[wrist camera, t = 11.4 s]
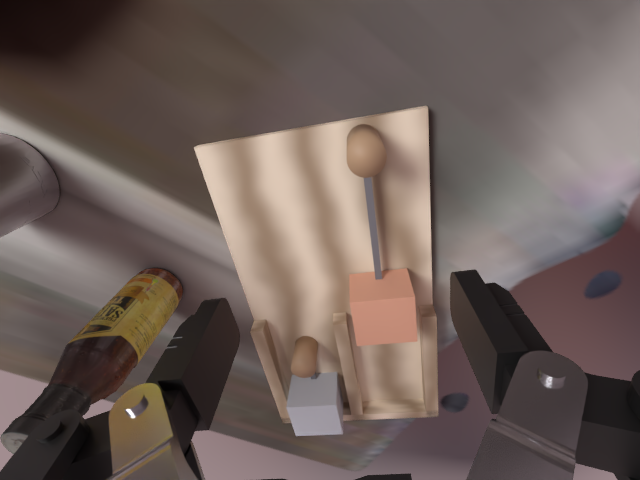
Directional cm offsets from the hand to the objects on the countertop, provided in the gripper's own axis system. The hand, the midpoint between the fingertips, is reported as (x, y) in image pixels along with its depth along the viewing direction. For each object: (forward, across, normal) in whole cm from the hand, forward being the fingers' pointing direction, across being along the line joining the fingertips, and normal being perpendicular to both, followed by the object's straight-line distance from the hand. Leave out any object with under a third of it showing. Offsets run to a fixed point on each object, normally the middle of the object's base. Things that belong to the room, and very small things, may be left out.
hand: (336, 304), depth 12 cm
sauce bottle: (+24, +25, +13) cm, 37 cm away
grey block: (+22, +8, +29) cm, 38 cm away
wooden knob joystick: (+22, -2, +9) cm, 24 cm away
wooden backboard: (+23, +3, +17) cm, 29 cm away
